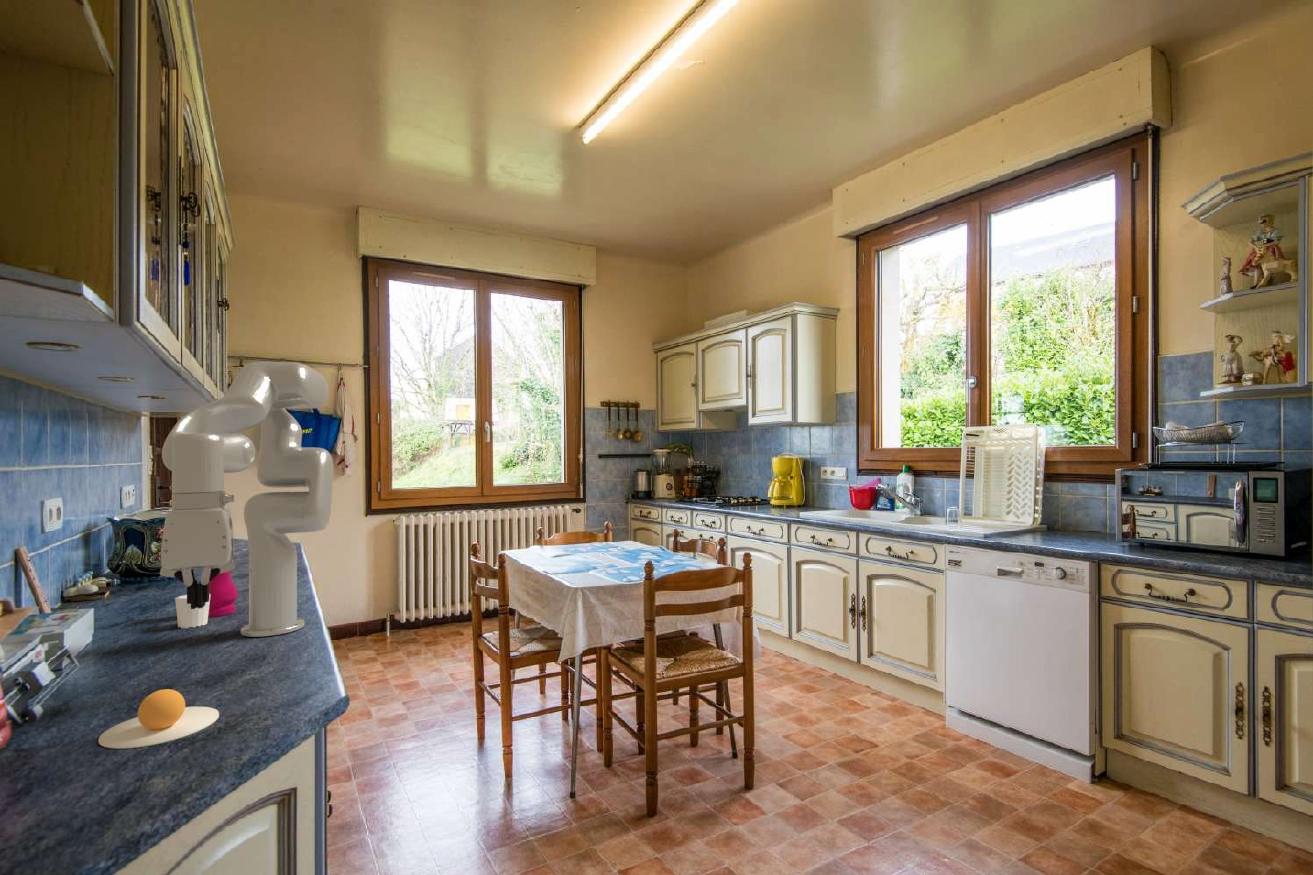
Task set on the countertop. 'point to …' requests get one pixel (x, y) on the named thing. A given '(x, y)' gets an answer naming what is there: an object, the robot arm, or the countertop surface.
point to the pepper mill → (222, 595)
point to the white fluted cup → (190, 613)
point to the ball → (161, 709)
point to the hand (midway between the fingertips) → (198, 606)
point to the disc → (140, 736)
